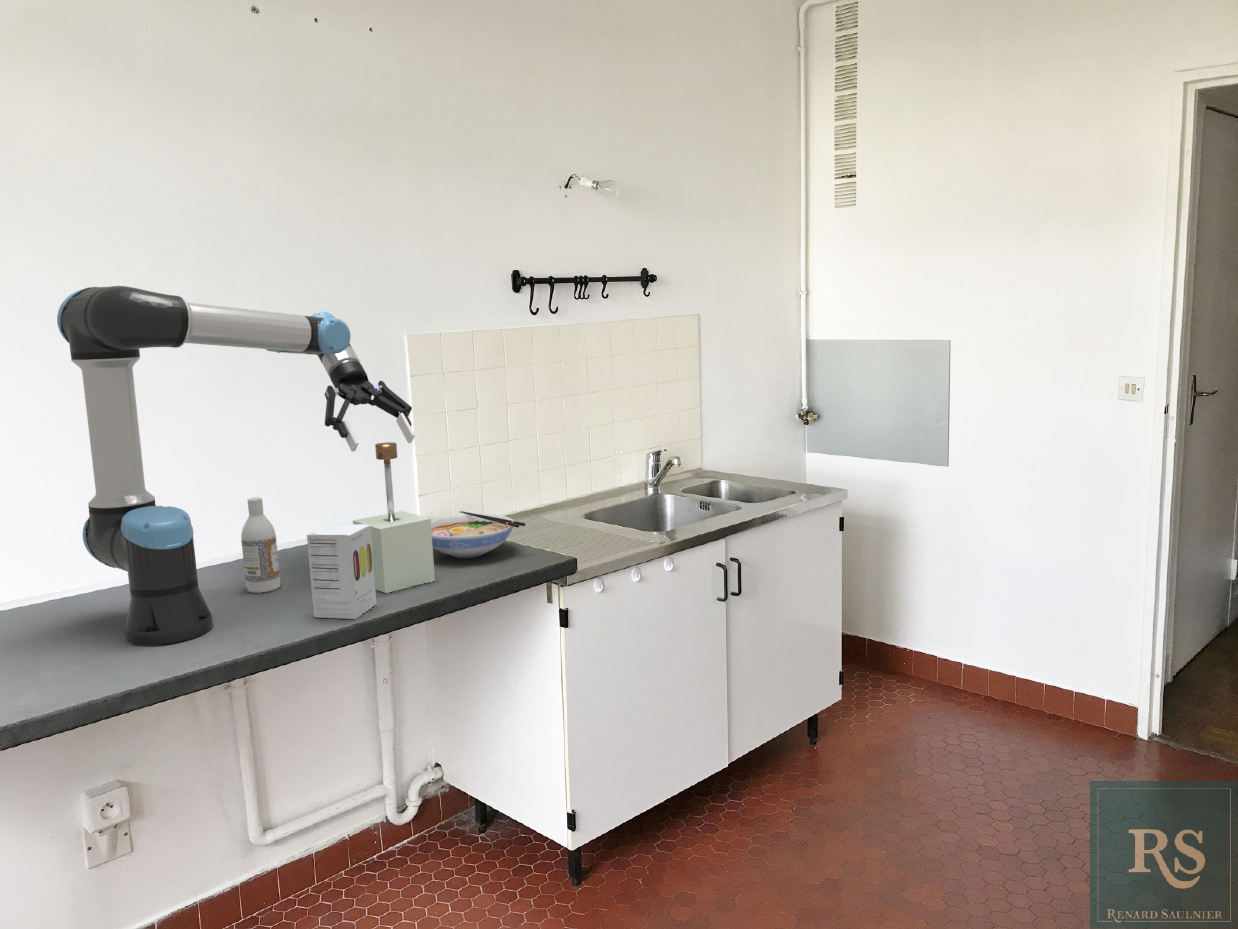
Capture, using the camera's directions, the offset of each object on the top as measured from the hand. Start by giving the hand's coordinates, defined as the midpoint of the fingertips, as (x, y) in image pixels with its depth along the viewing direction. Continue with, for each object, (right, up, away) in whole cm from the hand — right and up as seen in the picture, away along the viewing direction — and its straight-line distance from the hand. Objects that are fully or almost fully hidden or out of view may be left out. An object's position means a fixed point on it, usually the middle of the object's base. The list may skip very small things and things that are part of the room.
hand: (384, 443), depth 209 cm
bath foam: (-26, -32, +1) cm, 41 cm away
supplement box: (-4, -34, -16) cm, 38 cm away
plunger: (+2, -19, +1) cm, 19 cm away
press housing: (+2, -30, +3) cm, 30 cm away
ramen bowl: (+15, -26, +23) cm, 38 cm away
